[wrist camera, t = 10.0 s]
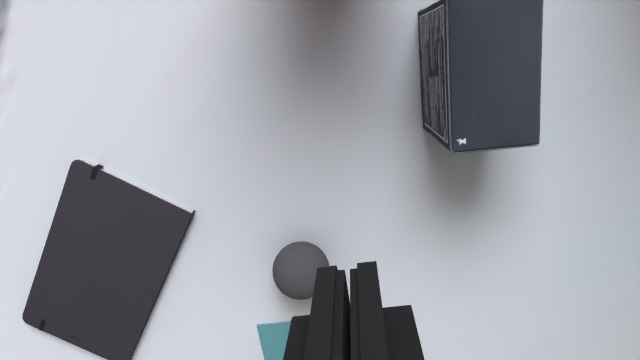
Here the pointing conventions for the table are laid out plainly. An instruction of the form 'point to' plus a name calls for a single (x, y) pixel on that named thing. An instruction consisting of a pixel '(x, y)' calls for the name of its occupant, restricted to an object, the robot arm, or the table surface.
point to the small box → (481, 73)
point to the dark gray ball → (298, 269)
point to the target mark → (274, 339)
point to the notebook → (104, 261)
